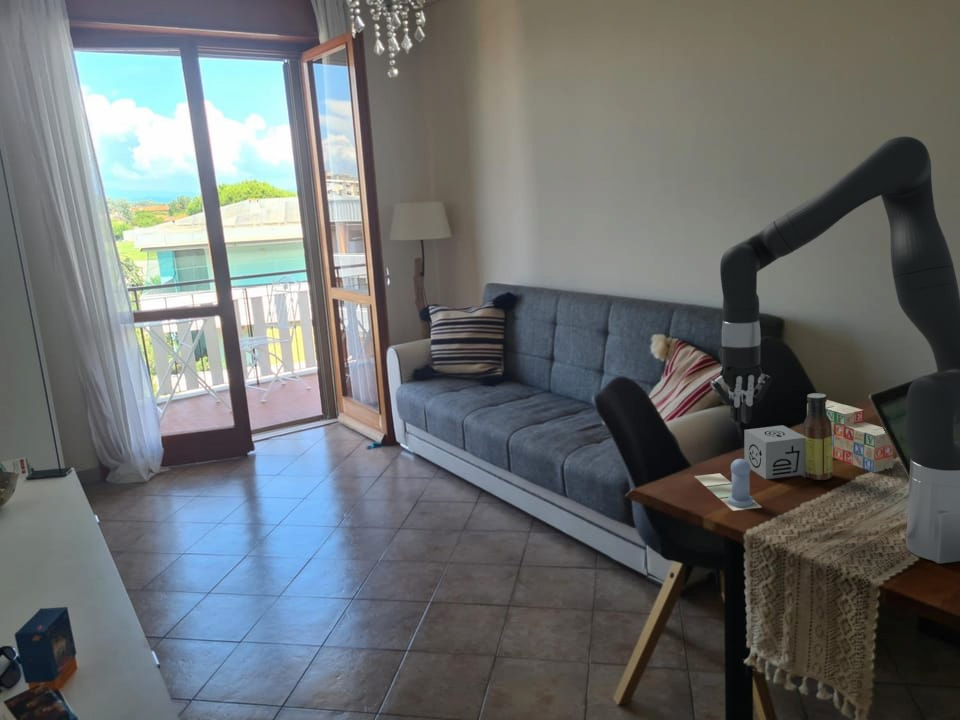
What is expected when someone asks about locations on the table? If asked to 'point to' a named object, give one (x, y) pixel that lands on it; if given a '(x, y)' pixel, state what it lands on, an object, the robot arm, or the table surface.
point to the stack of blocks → (858, 439)
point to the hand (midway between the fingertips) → (740, 422)
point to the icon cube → (775, 452)
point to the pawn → (740, 484)
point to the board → (721, 489)
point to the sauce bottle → (818, 439)
